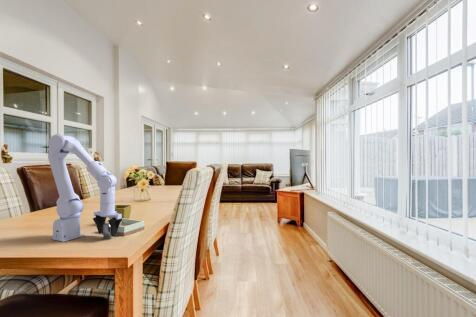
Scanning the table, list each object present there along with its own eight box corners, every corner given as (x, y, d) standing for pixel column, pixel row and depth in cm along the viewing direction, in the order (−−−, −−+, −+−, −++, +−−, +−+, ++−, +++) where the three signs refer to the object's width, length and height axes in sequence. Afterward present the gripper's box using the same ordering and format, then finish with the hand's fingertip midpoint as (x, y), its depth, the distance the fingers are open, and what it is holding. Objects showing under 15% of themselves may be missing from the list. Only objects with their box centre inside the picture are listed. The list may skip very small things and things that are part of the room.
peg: (106, 239, 111) (106, 224, 111) (101, 238, 112) (101, 224, 112) (113, 237, 114) (113, 223, 114) (107, 236, 115) (108, 222, 115)
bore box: (124, 236, 115) (124, 227, 115) (101, 232, 121) (102, 223, 120) (144, 229, 126) (144, 221, 126) (122, 226, 131) (123, 218, 131)
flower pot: (124, 225, 132) (124, 208, 132) (107, 225, 132) (107, 207, 132) (131, 221, 141) (131, 204, 141) (115, 221, 141) (115, 204, 141)
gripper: (127, 202, 113) (127, 233, 113) (103, 200, 119) (103, 229, 119) (113, 205, 107) (113, 238, 107) (89, 202, 113) (89, 233, 113)
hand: (107, 234), depth 113 cm, fingers open, 7 cm apart
